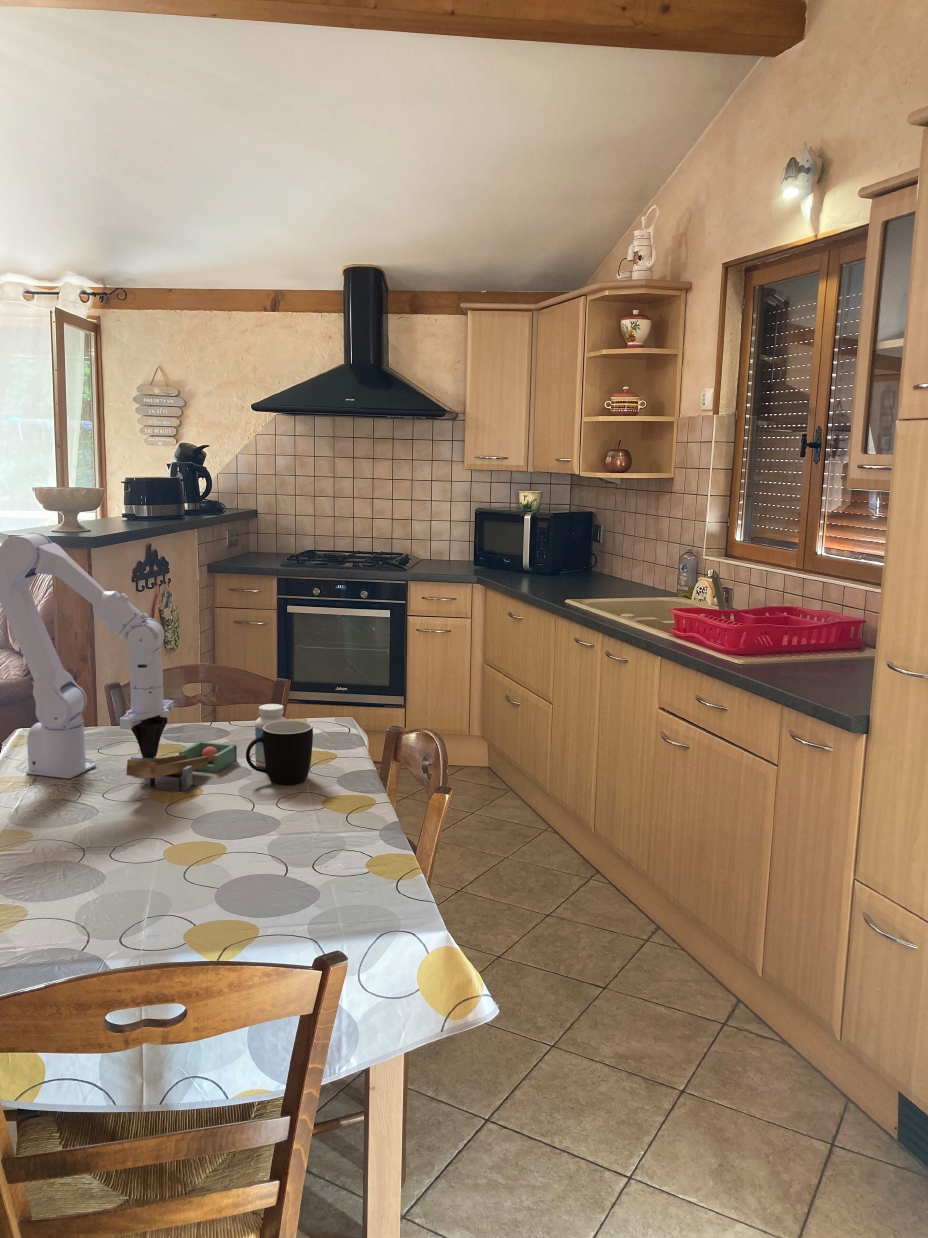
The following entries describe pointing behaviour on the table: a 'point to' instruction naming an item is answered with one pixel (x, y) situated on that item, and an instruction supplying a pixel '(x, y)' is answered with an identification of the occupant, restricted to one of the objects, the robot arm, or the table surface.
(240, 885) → the table surface
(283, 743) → the mug
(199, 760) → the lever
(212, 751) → the ball
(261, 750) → the pill bottle
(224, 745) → the dish
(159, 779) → the stand
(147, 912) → the table surface
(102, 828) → the table surface
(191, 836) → the table surface
